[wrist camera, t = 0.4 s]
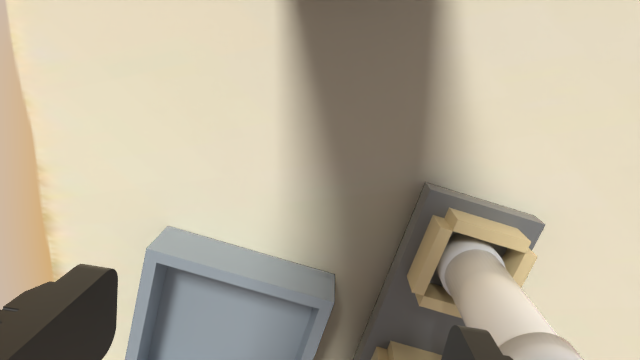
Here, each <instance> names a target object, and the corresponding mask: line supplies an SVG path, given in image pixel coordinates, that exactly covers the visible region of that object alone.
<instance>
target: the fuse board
mask: <svg viewBox="0 0 640 360" xmlns="http://www.w3.org/2000/svg"><path fill="white" fill-rule="evenodd" d="M544 226H545V224H544V223H543V222H542V221H540V220H539V219H538V218H537V217H535V216H534V215H530V214H527V213H524V212H521V211H517V210H514V209H511V208H508V207H504V206H501V205H498V204H495V203H491V202H488V201H485V200H482V199H479V198H475V197H472V196H469V195H466V194H462V193H459V192H456V191H453V190H449V189H446V188H443V187H440V186H436V185H433V184H430V183H427V182H425V185H424V187H423V190H422V192H421V195H420V197H419V199H418V202H417V204H416V207H415V209H414V212H413V214H412V216H411V219H410V221H409V224H408V226H407V229H406V231H405V234H404V236H403V238H402V241H401V243H400V246H399V248H398V251H397V253H396V255H395V258H394V260H393V263H392V265H391V268H390V270H389V273H388V275H387V277H386V280H385V282H384V285H383V287H382V290H381V292H380V294H379V297H378V299H377V302H376V304H375V307H374V309H373V312H372V314H371V316H370V319H369V321H368V324H367V326H366V329H365V331H364V333H363V336H362V338H361V341H360V343H359V346H358V348H357V351H356V353H355V355H354V358H353V360H441V358H442V355H443V351H444V348H445V344H446V341H447V337H448V334H449V331H450V329H451V327H452V326H454V325H459V326H465V323H464V321H463V319H462V317H461V315H460V313H459V311H458V309H457V307H456V305H455V302H454V300H453V298H452V296H450V295H449V294H448V293H447V291H446V290H445V289H444V287H443V285H442V282H441V280H440V278H439V276H438V274H437V272H436V267H437V265H438V263H439V260H440V258H441V256H442V254H443V252H444V249H445V247H446V245H447V243H448V240H449V238H450V237H451V236H452V235H455V234H459V233H461V234H464V235H467V236H470V237H474V238H477V239H480V240H484V241H487V242H489V243H490V244H491V246H492V247H493V248H494V249H495V251H496V252H497V253H498V254H499V256H500V257H501V258H502V260H503V262H504V264H505V268H506V270H507V271H508V272H509V274H510V275H511V276H512V277H513V279H514V280H515V281H516V282H517V284H518V285H519V286H520V288H521V287H522V285H523V283H524V281H525V280H526V278H527V276H528V274H529V272H530V270H531V268H532V266H533V265H534V263H535V261H536V259H537V256H536V255H535V254H534V253H533V252H532V249H533V247H534V245H535V244H536V242H537V240H538V238H539V236H540V234H541V232H542V230H543V228H544ZM465 327H466V326H465Z"/></svg>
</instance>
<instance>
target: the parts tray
mask: <svg viewBox="0 0 640 360" xmlns="http://www.w3.org/2000/svg"><path fill="white" fill-rule="evenodd" d="M334 303H335V274H331V273H328V272H325V271H321V270H318V269H314V268H311V267H307V266H304V265H301V264H297V263H294V262H290V261H287V260H283V259H280V258H276V257H273V256H270V255H266V254H263V253H259V252H256V251H252V250H249V249H246V248H242V247H239V246H235V245H232V244H228V243H225V242H222V241H218V240H215V239H211V238H208V237H204V236H201V235H197V234H194V233H191V232H187V231H184V230H180V229H177V228H173V227H170V226H168V227H167V228H166V229H165V230H164V231H163V232H162V233H161V234H160V235H159V236H158V237H157V238H156V239H155V240H154V241H153V242H152V243H151V244H150V245H149V246H148V247H147V248H146V253H145V258H144V263H143V269H142V274H141V279H140V284H139V289H138V295H137V300H136V305H135V310H134V315H133V321H132V326H131V331H130V336H129V341H128V347H127V352H126V357H125V360H313V359H314V356H315V354H316V351H317V348H318V346H319V343H320V340H321V337H322V335H323V332H324V329H325V327H326V324H327V321H328V319H329V316H330V313H331V311H332V308H333V305H334Z"/></svg>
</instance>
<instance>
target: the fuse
mask: <svg viewBox="0 0 640 360" xmlns="http://www.w3.org/2000/svg"><path fill="white" fill-rule="evenodd" d="M436 272H437V274H438V276H439V278H440V280H441V282H442V285H443V287H444V289H445V290H446V291H447V293H448V294H449V295H450V296H452V298H453V300H454V302H455V305H456V307H457V309H458V311H459V313H460V315H461V317H462V319H463V321H464V323H465V326H466V327H471V328H478V329H484V330H487V331H488V332H489V333H490V334H491V336H492V337H493V339H494V341H495V342H496V344H497V346H498V347H499V349H500V351H501V352H502V354H503V355H506V356H510V357H511V358H512V359H513V360H584V359H583V358H582V357H581V356H580V355H579V353H578V352H577V351H576V350H575V348H574V347H573V346H572V345H571V344H570V343H569V342H568V341H566V340H565V339H564V338H562V337H560V336H558V335H557V333H556V332H555V331H554V329H553V328H552V327H551V326H550V324H549V323H548V322H547V321H546V319H545V318H544V317H543V315H542V314H541V313H540V312H539V310H538V309H537V308H536V307H535V305H534V304H533V303H532V302H531V300H530V299H529V298H528V296H527V295H526V294H525V293H524V291H523V290H522V289H521V288H520V286H519V285H518V284H517V282H516V281H515V280H514V279H513V277H512V276H511V275H510V274H509V272H508V271H507V270H506V268H505V264H504V262H503V260H502V258H501V257H500V256H499V254H498V253H497V252H496V251H495V249H494V248H493V247H492V246H491V244H490V243H489V242H487V241H484V240H480V239H477V238H474V237H470V236H467V235H464V234H461V233H459V234H455V235H452V236H451V237H450V238H449V240H448V243H447V245H446V247H445V249H444V252H443V254H442V256H441V258H440V260H439V263H438V265H437V267H436Z"/></svg>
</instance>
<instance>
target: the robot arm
mask: <svg viewBox="0 0 640 360" xmlns="http://www.w3.org/2000/svg"><path fill="white" fill-rule="evenodd" d="M117 287H118V276H117V272H116V270H114V269H110V268H104V267H98V266H92V265H86V264H79V265H77V266H76V267H74V268H73V269H72V270H70V271H69V272H68V273H66V274H65V275H64V276H63V277H61V278H60V279H59V280H57V281H56V282H47V283H45V284H42V285H40V286H38V287H35V288H33V289H30V290H28V291H25V292H24V293H22V294H20V295H19V296H18V297H16V298H15V299H13V300H12V301H11V302H9V303H8V304H6V305H5V306H4V307H3V309H2V310H0V360H102V358H103V357H104V356H105V355H106V353H107V352H108V350H109V348H110V346H111V344H112V341H113V338H114V335H115V330H116V316H117ZM441 360H513V359H512V358H511V357H510V356H506V355H503V354H502V352H501V351H500V349H499V347H498V346H497V344H496V342H495V341H494V339H493V337H492V336H491V334H490V333H489V332H488V331H487V330H484V329H478V328H471V327H465V326H459V325H454V326H452V327H451V329H450V331H449V334H448V337H447V341H446V344H445V348H444V351H443V355H442V358H441Z"/></svg>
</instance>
